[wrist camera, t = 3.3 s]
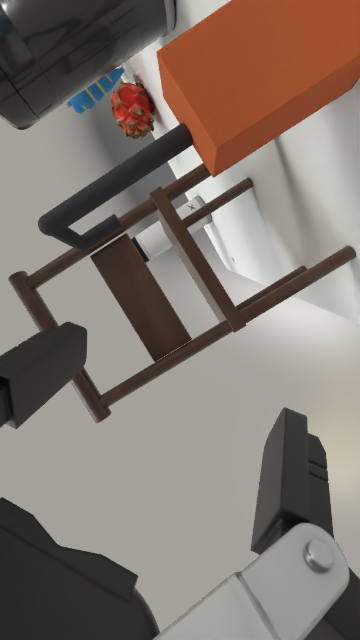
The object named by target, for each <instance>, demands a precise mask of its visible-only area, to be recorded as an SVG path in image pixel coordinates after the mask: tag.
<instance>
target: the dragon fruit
mask: <svg viewBox="0 0 360 640" xmlns="http://www.w3.org/2000/svg"><path fill="white" fill-rule="evenodd" d="M111 102H112V104H113V107H112V108H111V113H112V115H113V116H114V117H116V118H118V120H116V125H118V126H120V127H122V128H123V129H124V132H125V135H126V136H130V137H132V138H134V139H136V138H141V137H142V138H143V137H144V136H146V134H147V132H150V131H151V130H152V132H153V130H154V126H153V122H154V121H155V120H154V117H153V115H154V114H155V107H154V105H151V104H149V102H148V96H147V94H146V93H145V89H143V88H142V85H141V84H140V83H136V85H134V84H131V83H123V82H121V86H120V88H119V89H118V91H117V92H113V94H112V97H111ZM151 119H152V121H151Z"/></svg>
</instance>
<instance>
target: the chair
mask: <svg viewBox="0 0 360 640" xmlns="http://www.w3.org/2000/svg"><path fill="white" fill-rule="evenodd" d="M210 176H211V174H210V172H209V170H208V169H207V167H206V165H205V164H204V163H203V164H201V165H199V166H198V167H196V168H195V169H193V170H192V171H190V172H189V173H187V174H186V175H184V176H183V177H181V178H179V179H178V180H177V181H175V182H173V183H172V184H170V185H169V186H167V187H166V188H164V189H162V188H161V187H159V188H157V189H156V190H154V191H153V192H151V193H150V194H149V195H150V198H149V199H147V200H146V201H144V202H143V203H141V204H139V205H138V206H136V207H135V208H133V209H132V210H130V211H129V212H127V213H126V214H124V215H123V216H121V217H119V218H118V220H119V221H120V223H121V225H122V227H120V228H119V229H117V230H115V231H114V232H112V233H111V234H109V235H108V236H106V237H105V238H103V239H102V240H100V241H98V242H97V243H95V244H94V245H92V246H91V247H89V248H88V249H86V250H84V251H79V250H77V249H75V248H72V249H70V250H69V251H67V252H66V253H64V254H63V255H61V256H59V257H58V258H56V259H55V260H53V261H52V262H50V263H49V264H47V265H46V266H44V267H43V268H41V269H40V270H38V271H36V272H35V273H33V274H32V275H30V276H28V275H27V273H26V272H25V271H20V272H16V273H14V274H12V275H11V276H10V277H9V281H10V283H11V285H12V286H13V288H14V290H15V291H16V293H17V295H18V296H19V297H20V299H21V301H22V303H23V304H24V306H25V308H26V309H27V311H28V313H29V314H30V316H31V317H32V319H33V321H34V322H35V324H36V326H37V327H38V329H39V331H40V332H42V331H46V330H49V329H56V328H58V327H59V326H58V324H57V322H56V321H55V319H54V317H53V316H52V314H51V313H50V311H49V309H48V308H47V306H46V304H45V303H44V301H43V299H42V298H41V296H40V294H39V293H38V291H37V290H36V288H38V287H39V286H41V285H42V284H44V283H45V282H47V281H48V280H50V279H52V278H53V277H55V276H56V275H58V274H59V273H61V272H62V271H64V270H66V269H67V268H69V267H70V266H72V265H73V264H75V263H76V262H78V261H80V260H81V259H83V258H84V257H86V256H87V255H89V254H90V253H92V252H93V251H95V250H97V249H98V248H99V247H101V246H103V245H104V244H106V243H107V242H109V241H111V240H112V239H113V238H115V237H117V236H118V235H120V234H121V233H123V232H124V231H126V230H127V229H129V228H131V227H132V226H134V225H135V224H137V223H138V222H140V221H141V220H143V219H145V218H146V217H148V216H149V215H151V214H152V213H154V212H155V211H156V212H157V215H158V217H159V220H160V222H161V225H162V227H163V230H164V232H165V234H166V236H167V237H168V239H169V240H170V242H171V244H172V245H173V247H174V248H175V250H176V252H177V253H178V255H179V257H180V258H181V260H182V262H183V263H184V265H185V266H186V268H187V270H188V271H189V273H190V275H191V276H192V278H193V279H194V281H195V283H196V284H197V286H198V288H199V289H200V291H201V292H202V294H203V295H204V297H205V299H206V301H207V302H208V304H209V305H210V307H211V309H212V310H213V312H214V314H215V315H216V317H217V318H218V320H219V322H220V323H219V324H218V325H216V326H215V327H213V328H211V329H210V330H208V331H206V332H205V333H203V334H201V335H200V336H198V337H196V338H195V339H193V340H191V339H192V338H191V337H190V335H189V334H188V332H187V330H186V329H185V327H184V325H183V324H182V322H181V320H180V319H179V317H178V316H177V314H176V312H175V311H174V309H173V308H172V306H171V304H170V303H169V301H168V299H167V298H166V296H165V294H164V293H163V291H162V289H161V288H160V286H159V285H158V283H157V281H156V280H155V278H154V276H153V275H152V273H151V272H150V270H149V268H148V267H147V265H146V263H145V262H144V260H143V259H142V257H141V255H140V254H139V252H138V250H137V249H136V247H135V246H134V244H133V242H132V241H131V239H130V237H129V236H128V234H127V233H126V234H124V235H123V236H121V237H119V238H118V239H116V240H115V241H113V242H112V243H110V244H109V245H107V246H105V247H104V248H102V249H101V250H99V251H98V252H96V253H95V254H93V255H91V259H92V261H93V262H94V264H95V266H96V267H97V269H98V270H99V272H100V274H101V275H102V277H103V279H104V280H105V282H106V283H107V285H108V286H109V288H110V290H111V292H112V293H113V295H114V297H115V298H116V300H117V301H118V303H119V305H120V306H121V308H122V310H123V311H124V313H125V315H126V316H127V318H128V319H129V321H130V323H131V324H132V326H133V327H134V329H135V331H136V332H137V334H138V336H139V337H140V339H141V341H142V342H143V344H144V346H145V347H146V349H147V350H148V352H149V354H150V355H151V357H152V359H153V360H154V362H155V363H154V364H152V365H150V366H149V367H147V368H145V369H144V370H142V371H140V372H139V373H137V374H136V375H134V376H132V377H131V378H129V379H127V380H126V381H124V382H122V383H121V384H119V385H118V386H116V387H114V388H113V389H111V390H109V391H108V392H106V393H104V394H103V395H101V394H100V393H99V391H98V390H97V388H96V386H95V385H94V383H93V381H92V380H91V378H90V376H89V375H88V373H87V372H86V370H85V368H84V367H83V368H82V370H81V371H80V372H79V373H78V374H77V375H76V376H75V377H74V378H72V379H71V380H70V382H71V383H72V385H73V387H74V388H75V390H76V391H77V393H78V395H79V396H80V398H81V400H82V401H83V403H84V405H85V406H86V408H87V409H88V411H89V413H90V415H91V416H92V418H93V419H94V421H95V423H99V422H101V421H102V420H104V419H105V418H107V417H108V416H109V415H110V414H111V411H110V409H109V408H108V407H109V406H110V405H112V404H113V403H115V402H117V401H118V400H120V399H122V398H123V397H125V396H127V395H128V394H130V393H132V392H133V391H135V390H137V389H138V388H140V387H142V386H143V385H145V384H146V383H148V382H149V381H152V380H153V379H155V378H157V377H158V376H160V375H162V374H163V373H165V372H166V371H168V370H170V369H171V368H173V367H175V366H176V365H178V364H180V363H181V362H183V361H185V360H186V359H188V358H190V357H191V356H193V355H195V354H196V353H198V352H200V351H201V350H203V349H205V348H206V347H208V346H210V345H211V344H213V343H214V342H216V341H218V340H219V339H221V338H223V337H224V336H226V335H228V334H229V333H231V332H236V331H238V330H240V329H241V328H243V327H245V326H246V323H248V322H249V321H251V320H253V319H254V318H256V317H258V316H259V315H261V314H262V313H264V312H266V311H267V310H269V309H271V308H272V307H274V306H276V305H277V304H279V303H281V302H282V301H284V300H286V299H287V298H289V297H291V296H292V295H294V294H296V293H297V292H299V291H301V290H302V289H304V288H306V287H307V286H309V285H310V284H312V283H314V282H315V281H317V280H319V279H320V278H322V277H324V276H325V275H327V274H329V273H330V272H332V271H334V270H335V269H337V268H339V267H340V266H342V265H344V264H345V263H347V262H349V261H350V260H352V259H354V258H355V252H354V250H353V249H352V248H351V247H349V246H346V247H344V248H343V249H341V250H339V251H338V252H336V253H335V254H333V255H331V256H330V257H328V258H326V259H325V260H323V261H321V262H320V263H318V264H316V265H315V266H313V267H311V268H310V269H308V270H306V268H305V267H304V266H301V267H300V268H298V269H296V270H295V271H293V272H291V273H290V274H288V275H286V276H285V277H283V278H282V279H280V280H278V281H277V282H275V283H273V284H272V285H270V286H268V287H267V288H266V289H264V290H262V291H260V292H259V293H257V294H255V295H254V296H252V297H250V298H249V299H247V300H245V301H244V302H242V303H241V304H239V305H237V306H236V307H235V306H234V304H233V302H232V301H231V299H230V298H229V296H228V294H227V293H226V291H225V289H224V288H223V286H222V285H221V283H220V281H219V280H218V278H217V277H216V275H215V273H214V272H213V270H212V268H211V267H210V265H209V264H208V262H207V260H206V259H205V257H204V255H203V254H202V252H201V251H200V249H199V247H198V246H197V244H196V243H195V241H194V239H193V238H192V236H191V234H190V233H189V231H188V229H187V228H188V227H190V226H192V225H193V224H195V223H196V222H198V221H199V220H201V219H203V218H204V217H206V216H207V215H209V214H210V213H212V212H214V211H215V210H217V209H218V208H220V207H221V206H223V205H225V204H226V203H228V202H229V201H231V200H232V199H234V198H236V197H237V196H239V195H240V194H242V193H243V192H245V191H247V190H248V189H250V188H251V187H252V186H253V184H252V181H251V179H250V178H246V179H245V180H243V181H242V182H240V183H239V184H237V185H235V186H234V187H232V188H231V189H229V190H228V191H226V192H225V193H223V194H221V195H220V196H218V197H217V198H215V199H214V200H212V201H210V202H209V203H207V204H206V205H204V206H203V207H201V208H200V209H198V210H196V211H195V212H193V213H192V214H190V215H189V216H187V217H185V218H184V219H182V220H181V218H180V216H179V215H178V213H177V212H176V210H175V208H174V207H173V205H172V204H171V201H172V200H174V199H175V198H177V197H179V196H180V195H182V194H183V193H185V192H186V191H188V190H190V189H191V188H193V187H194V186H196V185H197V184H199V183H200V182H202V181H203V180H205V179H207V178H208V177H210ZM190 340H191V341H190ZM189 341H190V342H189ZM187 342H188V343H187ZM186 343H187V344H186ZM184 344H185V345H184ZM182 345H183V346H182ZM181 346H182V347H181ZM179 347H180V348H179ZM177 348H178V349H177ZM176 349H177V350H176ZM174 350H175V351H174ZM172 351H173V352H172ZM171 352H172V353H171ZM169 353H170V354H169ZM167 354H168V355H167ZM166 355H167V356H166ZM164 356H165V357H164ZM162 357H163V358H162ZM161 358H162V359H161ZM159 359H160V360H159ZM157 360H159V361H157ZM156 361H157V362H156Z"/></svg>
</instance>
